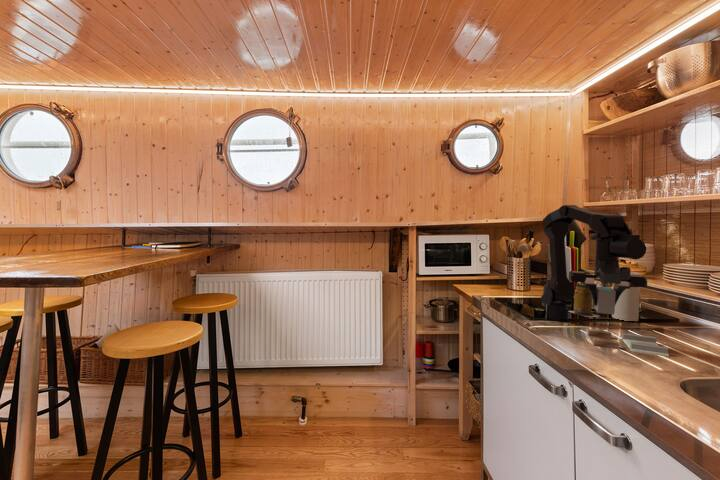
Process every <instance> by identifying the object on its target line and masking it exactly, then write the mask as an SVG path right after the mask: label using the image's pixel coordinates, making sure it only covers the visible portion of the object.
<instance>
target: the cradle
mask: <svg viewBox="0 0 720 480" xmlns="http://www.w3.org/2000/svg"><path fill="white" fill-rule="evenodd" d="M620 338H621V340H622V341H623V342H624V343H625V345H626V346H627V347H628V348H629V350H630V351H631V352H632V353H633V352H634V353H640V354H646V355H653V356H654V355H655V356H661V357H670V354H669V348H668V347H667V346H661V345H659V344H658V343H657V340H658V339H657V337H655V336H649V335H641V334H632V333H624V332H622V333H621V337H620Z"/></svg>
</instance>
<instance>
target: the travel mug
mask: <svg viewBox="0 0 720 480" xmlns="http://www.w3.org/2000/svg"><path fill="white" fill-rule="evenodd" d="M630 274H631V275H641V273H639V272H636V271H630ZM612 286H614V284H613V285H612ZM629 286H630V289H625V290H624V291H623V292H622V294H621V295H620V297H619V299H618V301H617V303H616V305H615V312H614V315H613V314H611V317H612V318H613V319H614V320H617V319H619V320H618V321H621V320H624V321H623V322H627V321H635V322H639V316H640V315H639V314H640V296H641V287H637V286H633V285H632V284H631V283H630V284H629Z"/></svg>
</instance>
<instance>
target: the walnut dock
mask: <svg viewBox="0 0 720 480" xmlns="http://www.w3.org/2000/svg"><path fill="white" fill-rule="evenodd" d="M586 334H587V337H588V338H589V340H590V342H591V343H592V345H593V346H594V347H599V348H607V349H612V350H620V341H617V340H613V339H612V334H613V333H612V332H611V331H606V330H602V329H601V330H599V329H592V328H587V333H586Z"/></svg>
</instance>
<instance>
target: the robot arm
mask: <svg viewBox="0 0 720 480" xmlns="http://www.w3.org/2000/svg"><path fill="white" fill-rule="evenodd" d="M575 221H577V222H580V223H583V224H586V225H588V226H589V229H590V230H592V231H593V232H594V233H595V234H594V235H593V236H591V237H590V240H592V241H595V255H594V256H595V257H594V271H593V272H594V273H593V274H589V273H588V274H587V273H586V272H585V271H580V270H570V271H569V272H568V273H567V259H566V258H567V257H566V255H567V254H566V244H565V243H566V241H565V240H566V239H565V238H566V236H567V235H568V233H569V232H570V226H571V225H572V224H573V223H574V222H575ZM541 223H542V228H543V233H544V234H545V236H546V237H547V238H548V240H549V241H548V242H549V244H548V245H549V258H550V272H551V273H550V275H551V277H550V278H549V279H550V280H549V282H548V284H547V283H546V284H547V290H546V292H545V293H544V294H543V293H542V295H541V296H540V299H541V302H543V303H545V304H546V307H545V316H544V317H545V320H546V321H548V322H557V323H565V324H566V323H567V321H568V319H569V318H568V317H569V315H568V314H569V309H568V307H567V306H571V305H573V302H574V293H575V283H583V284H584V285H587V287H588V289H589V291H590V293H591V296H592V303H593V304H594V305H595V306H597V294H596V287H597V283H596V282H601V283H603V284H613V285H614V286H613V285H612V286H613V288H612V289H613V290H615V291H616V293H615V305H616V303H617V301H618V299H619V297H620V295H621V294H622V292H623V291H624V290H625V289H630V286H629V284H630V283H631V284H632V285H633V286H637V287H640V288H647V287H648V278H646V276H643V275H641V274H640V275H631V274H630V272H632V271H631V268H630V267H629V266H621V267H620V260H619V259H620V258H621V259H622V258H623V259H628V260H629V259H630V260H640V259H643V257H644V256H645V255H646V253H647V246H646V244H645V241H643V240H642V239H640V238H641V237H640V234H633V233H632V231H631V229H630V227H629V226H628V224H627V222H626V221H625V219H624V216H623V215H621V214H616V213H599V212H596V211H594V210H593V211H592V210H590V209H586V208H583V207H580V206H578V205H575V204H563V205H562V206H559V208H557V209H555V210H554V211H551V212H549V213H548V214H547V215H546V216H545V217H543V219H542V222H541Z"/></svg>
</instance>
